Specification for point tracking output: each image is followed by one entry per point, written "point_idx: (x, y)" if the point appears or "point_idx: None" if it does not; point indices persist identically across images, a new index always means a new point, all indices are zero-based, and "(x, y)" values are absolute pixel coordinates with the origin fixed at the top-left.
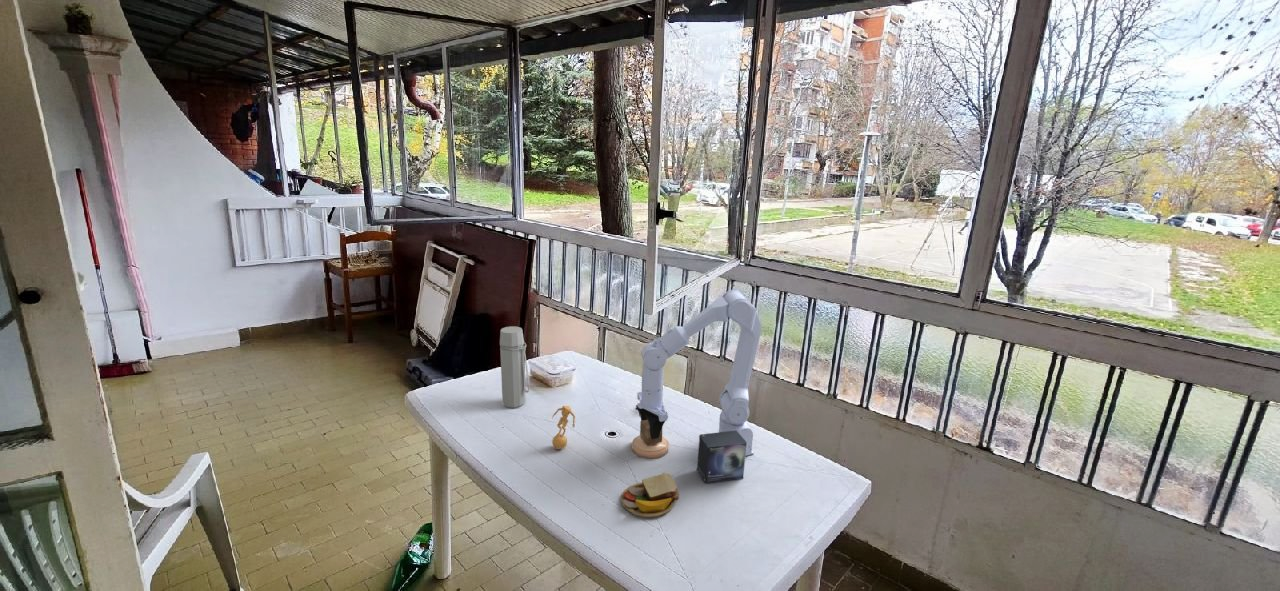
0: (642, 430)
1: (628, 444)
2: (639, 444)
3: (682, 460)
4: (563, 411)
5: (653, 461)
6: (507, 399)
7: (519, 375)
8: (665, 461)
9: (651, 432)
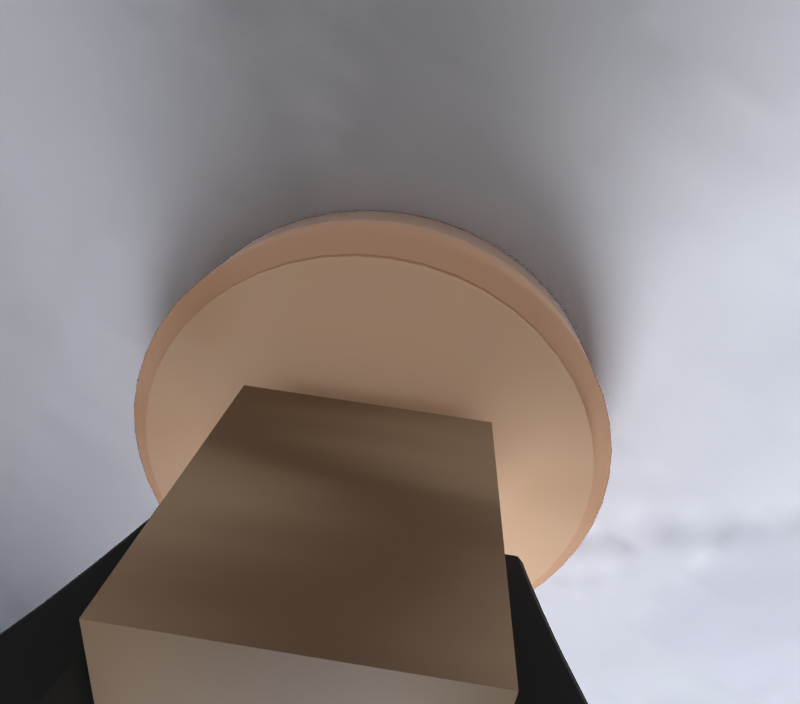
0: (393, 520)
1: (610, 256)
2: (379, 327)
3: (60, 533)
4: None
5: (120, 307)
6: None
7: None
8: (85, 409)
9: (60, 592)
